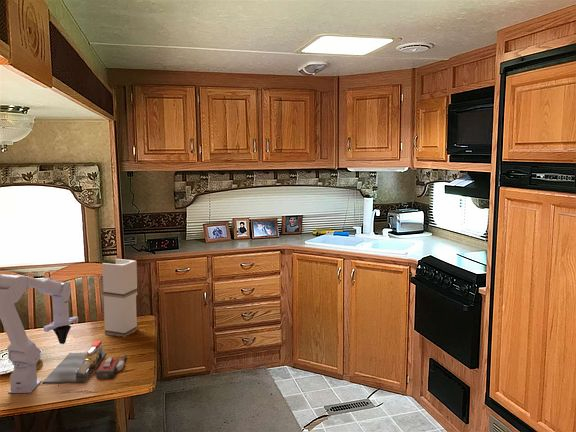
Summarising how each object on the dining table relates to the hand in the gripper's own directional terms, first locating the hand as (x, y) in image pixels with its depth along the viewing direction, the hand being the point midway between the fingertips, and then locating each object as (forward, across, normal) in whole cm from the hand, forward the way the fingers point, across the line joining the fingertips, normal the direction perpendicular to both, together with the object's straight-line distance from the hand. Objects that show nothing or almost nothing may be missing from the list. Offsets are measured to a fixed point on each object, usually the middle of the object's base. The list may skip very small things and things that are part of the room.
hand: (62, 343), depth 196 cm
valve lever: (+3, +8, -9) cm, 13 cm away
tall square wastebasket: (+9, +38, +7) cm, 40 cm away
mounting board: (+9, +1, -7) cm, 12 cm away
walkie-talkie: (+10, +8, -19) cm, 23 cm away
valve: (+9, +4, -12) cm, 16 cm away
